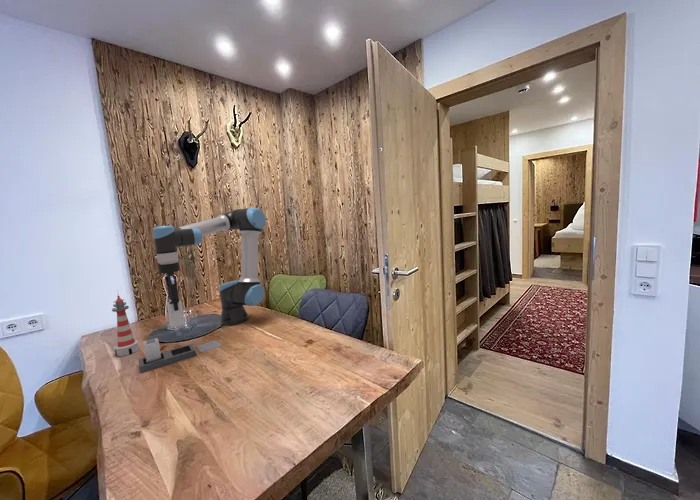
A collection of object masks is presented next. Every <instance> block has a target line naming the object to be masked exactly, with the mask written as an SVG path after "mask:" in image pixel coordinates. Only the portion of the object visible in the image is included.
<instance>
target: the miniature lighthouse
mask: <svg viewBox="0 0 700 500" xmlns="http://www.w3.org/2000/svg"><path fill="white" fill-rule="evenodd" d="M118 290H119V289H117V293H119V291H118ZM116 297H117V298H116V300H114V301H113V303H114V304H112V306H113V308H112V309H111V311H112V312H114V313H115V312H116V328H117V332H116V333H117V337H116V338H117V344H114V346H113V350H114V352H115V356H116V357H125V356H129V355H133V354H134V353H136V352H138V351H139V341H138V339H135V337H134V334H133V331H132V327H131V325H130V322H129V319H128V316H127V313H126V310H128V309H129V307H130V306H129V305H127V302H126V301H125V299H122V298H121V297H120V295H119V294H117V296H116Z"/></svg>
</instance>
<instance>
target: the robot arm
mask: <svg viewBox="0 0 700 500" xmlns="http://www.w3.org/2000/svg"><path fill="white" fill-rule="evenodd" d="M266 224H267V218H266V215H265V213H264V212H263V210H262V209H260V208H258V207H249V208H248V207H247V208H246V207H245V208H237V209H234V210H230V211H227V212H224V213H222V214H218V216H217V217H213V218H209V219H205V220H203V221H202V220H201V221H198V222H193V223H190V224H186V225H182V226H179V227H175V228H174V226H173V225H162V226H154V227H153V228H152V235H153V236H152V237H153V238H152V239H153V241H154V242H153V243H154V249H155V253H156V256H154V259H156V262H157V264H158V265H157V269H158V273H159V274H162V275H163V274H165V276H164V280H165V285H166V288H167V295H168V297H167V298H168V299H169V301H172V302H171V303H170V304H171V305H172V312H173V318H174V319H175V318H179V317H181V313H180V306H179V300H180V297H179V291H178V282H177V279H178V278H177V276H176V275H175V272H179V271H180V269H181V268H180V263H179V254H178V249H177V248H179V247H180V248H181V247H188V246H189V247H190V246H195V245H200V244H201V243H202V242H203V238H204V237H205V236H208V235H212V234H215V233H219V232H221V231H223V232H228V231H232V230H234V231H235V230H236V231H237V230H239V232H238V233H240V234H241V269H240V270H241V271H240V275H241V276H240V279H238V280H237V279H236V280H231V281H227V282H224V283H221V284H220V285H219V297H220V304H221V314H220V317H219V318H220V319H219V324H220V323H222V324H223V325H222V326H234V325H238V324H242V323H244V322H246V321H248V320H249V314H248V312H247V310H246V308H245V306H246V307H247V306H248V307H251V306H252V307H253V306H254V307H255V306H257V305H260V303H261V302H262V301H263V299H264V296H265V288H264V287H263V286H262V285H261V280H260V279H259V277H258V273H259V272H258V271H259V270H258V269H259V268H258V266H259V235H261V234H262V229H263V228H265V226H266Z"/></svg>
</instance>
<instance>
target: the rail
mask: <svg viewBox="0 0 700 500" xmlns="http://www.w3.org/2000/svg"><path fill="white" fill-rule="evenodd" d="M160 353H161V360H158V361H155V362H152V363H148V364H147V362H146V356H145V357H141V358H138V367H139V373H140V374H142V373H145V372H146V373H147V372H148V371H152V370H156V369H158V368H162V367H165V366H167V365H172V364H175V363H178V362H181V361H185V360H188V359H191V358H193V357H197V350H196V348H195V347H194V345H193V343H190V344H186V345H183V346H180V347H176V348H173V349H170V350H169V349H168V350H165V351H162V352H160Z"/></svg>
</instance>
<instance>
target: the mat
mask: <svg viewBox="0 0 700 500" xmlns="http://www.w3.org/2000/svg"><path fill="white" fill-rule="evenodd" d="M220 347H223V345H222V344H221V343H220V342H219V340H218V339H215V340H211V341H209V342H206V343H201V344H198V345H196V348H197V349H198V351H199V353H204V352H207V351H211V350H213V349H214V350H215V349H217V348H220Z"/></svg>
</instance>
